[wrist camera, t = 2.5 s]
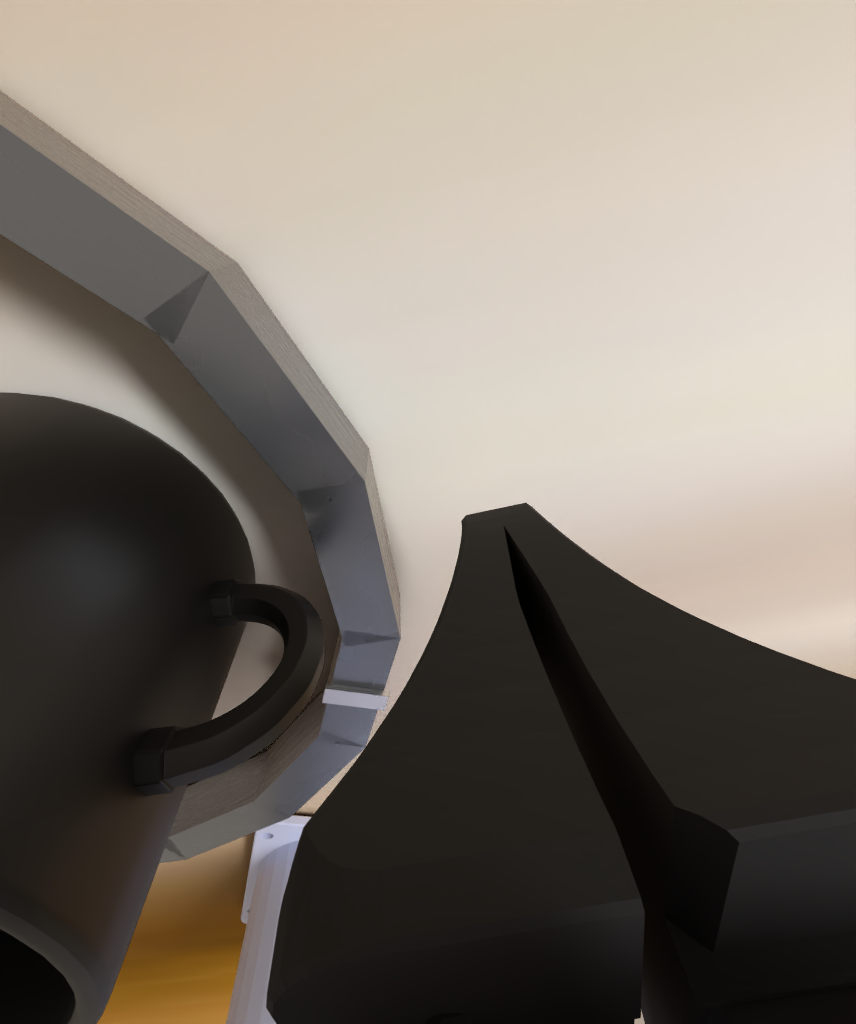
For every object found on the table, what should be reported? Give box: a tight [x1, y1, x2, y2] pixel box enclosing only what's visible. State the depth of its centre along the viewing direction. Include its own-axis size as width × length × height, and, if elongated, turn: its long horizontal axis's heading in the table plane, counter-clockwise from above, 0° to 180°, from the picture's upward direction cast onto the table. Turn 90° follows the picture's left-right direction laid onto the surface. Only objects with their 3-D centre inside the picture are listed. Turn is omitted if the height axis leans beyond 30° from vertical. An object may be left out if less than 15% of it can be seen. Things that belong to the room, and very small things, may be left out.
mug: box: [0, 393, 325, 1024], centre depth 10 cm, size 9×12×9 cm
